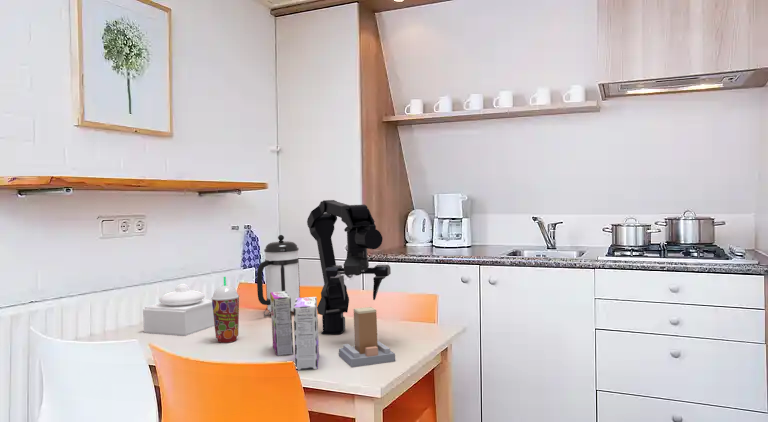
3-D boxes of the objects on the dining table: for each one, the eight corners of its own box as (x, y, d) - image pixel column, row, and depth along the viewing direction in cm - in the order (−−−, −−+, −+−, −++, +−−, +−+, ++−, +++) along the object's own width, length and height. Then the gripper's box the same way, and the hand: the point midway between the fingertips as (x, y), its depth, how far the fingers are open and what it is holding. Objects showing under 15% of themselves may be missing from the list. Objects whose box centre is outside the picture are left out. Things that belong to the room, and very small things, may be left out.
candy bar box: (271, 347, 175) (269, 291, 174) (288, 345, 176) (286, 290, 176) (275, 356, 164) (273, 298, 164) (293, 354, 166) (291, 296, 165)
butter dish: (144, 333, 200) (141, 286, 199) (181, 322, 216) (179, 278, 216) (185, 336, 193) (183, 288, 193) (220, 324, 210) (218, 280, 209)
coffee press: (262, 311, 230) (259, 234, 230) (304, 309, 232) (301, 232, 231) (258, 320, 213) (255, 237, 212) (303, 318, 215) (300, 235, 214)
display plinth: (339, 355, 163) (338, 341, 163) (380, 350, 167) (379, 336, 167) (351, 367, 152) (351, 351, 152) (395, 361, 156) (394, 346, 156)
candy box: (298, 356, 164) (295, 297, 164) (319, 355, 165) (317, 296, 164) (294, 370, 150) (292, 306, 150) (318, 369, 151) (315, 305, 150)
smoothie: (216, 345, 179) (213, 279, 179) (210, 339, 187) (208, 276, 186) (244, 341, 183) (241, 276, 183) (237, 336, 191) (234, 274, 190)
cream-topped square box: (355, 350, 161) (353, 308, 160) (372, 347, 162) (371, 307, 162) (359, 354, 156) (358, 311, 156) (377, 351, 158) (376, 309, 158)
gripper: (318, 250, 168) (320, 305, 169) (383, 249, 165) (385, 305, 165) (329, 246, 179) (331, 298, 180) (390, 245, 176) (391, 298, 176)
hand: (358, 299), depth 175 cm, fingers open, 9 cm apart
